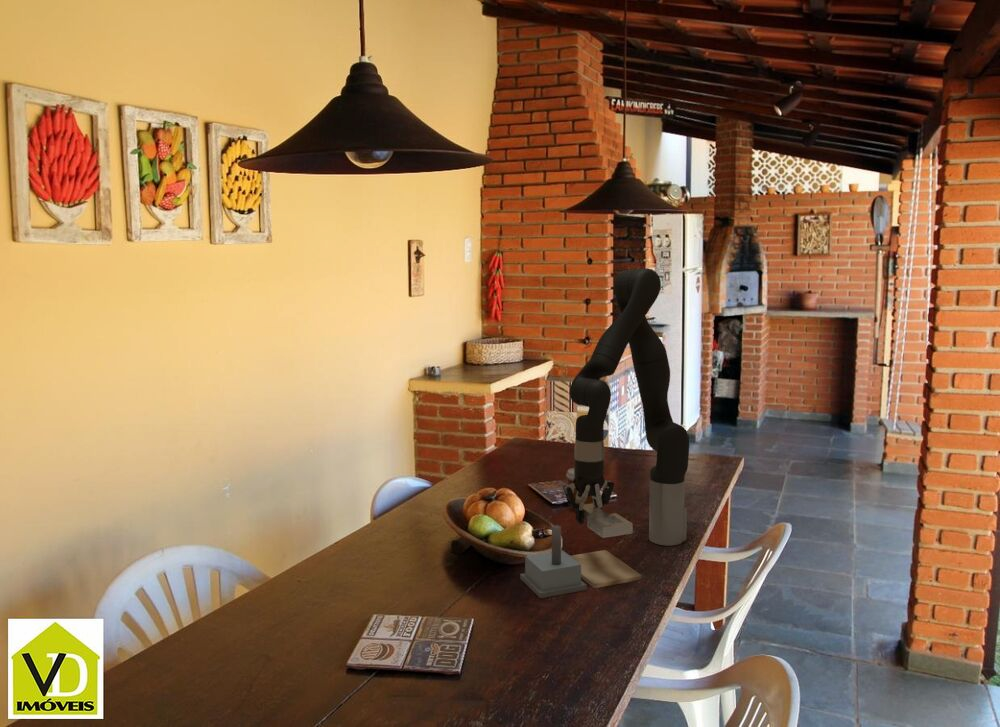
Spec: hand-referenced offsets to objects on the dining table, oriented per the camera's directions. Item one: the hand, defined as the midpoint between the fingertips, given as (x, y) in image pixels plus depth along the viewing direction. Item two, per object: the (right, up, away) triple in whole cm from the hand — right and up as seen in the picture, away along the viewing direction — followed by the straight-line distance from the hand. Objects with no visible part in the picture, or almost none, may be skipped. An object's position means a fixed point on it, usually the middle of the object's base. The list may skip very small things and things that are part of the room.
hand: (588, 521), depth 201 cm
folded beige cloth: (+2, -11, -4) cm, 12 cm away
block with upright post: (-10, -13, -12) cm, 20 cm away
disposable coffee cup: (+3, -5, +43) cm, 43 cm away
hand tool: (-30, -9, +16) cm, 35 cm away
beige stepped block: (+2, +1, -6) cm, 6 cm away
